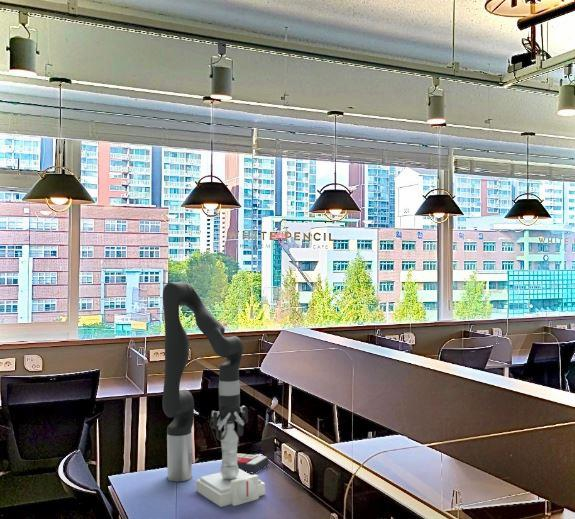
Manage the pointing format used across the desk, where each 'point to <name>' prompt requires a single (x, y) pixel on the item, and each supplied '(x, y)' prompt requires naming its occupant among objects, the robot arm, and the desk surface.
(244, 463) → the calculator
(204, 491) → the plate
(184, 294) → the robot arm
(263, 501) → the desk surface
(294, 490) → the desk surface
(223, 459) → the silver metal bottle
